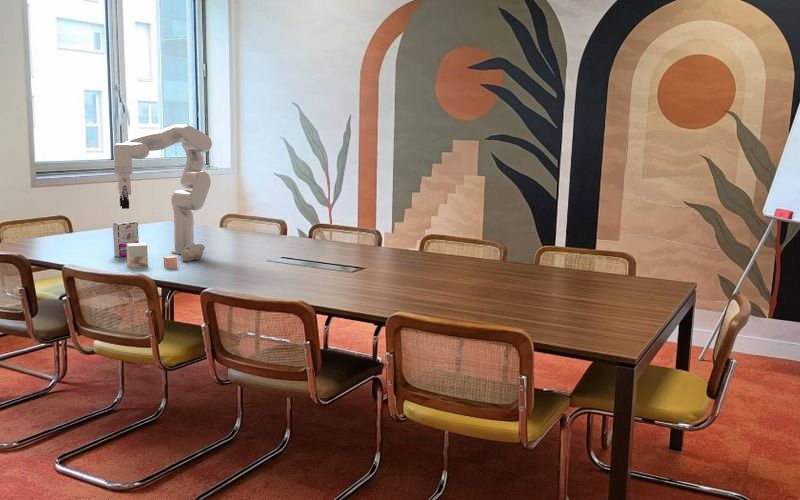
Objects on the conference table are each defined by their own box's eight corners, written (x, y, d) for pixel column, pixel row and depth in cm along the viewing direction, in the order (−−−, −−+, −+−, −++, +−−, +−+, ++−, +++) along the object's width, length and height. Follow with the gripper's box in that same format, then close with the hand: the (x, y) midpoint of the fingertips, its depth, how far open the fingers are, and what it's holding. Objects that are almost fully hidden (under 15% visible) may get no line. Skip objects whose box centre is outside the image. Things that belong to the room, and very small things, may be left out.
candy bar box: (133, 253, 391) (132, 221, 388) (139, 254, 388) (138, 221, 385) (113, 256, 382) (112, 223, 379) (119, 257, 379) (118, 224, 376)
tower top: (144, 253, 365) (144, 242, 364) (147, 256, 358) (147, 245, 357) (126, 254, 362) (126, 243, 361) (129, 257, 355) (128, 246, 354)
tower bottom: (145, 263, 366) (144, 253, 365) (147, 266, 359) (147, 256, 358) (127, 264, 362) (126, 254, 362) (129, 267, 355) (129, 257, 355)
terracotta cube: (175, 266, 361) (174, 255, 360) (177, 268, 357) (176, 257, 356) (163, 267, 359) (163, 256, 358) (165, 269, 354) (165, 258, 354)
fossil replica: (175, 261, 373) (194, 265, 370) (175, 245, 371) (194, 248, 368) (189, 255, 384) (207, 259, 381) (189, 239, 382) (208, 242, 379)
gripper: (133, 171, 354) (135, 209, 357) (130, 169, 370) (131, 205, 373) (116, 171, 351) (117, 209, 354) (113, 169, 367) (114, 205, 370)
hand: (124, 207), depth 364 cm, fingers open, 9 cm apart
